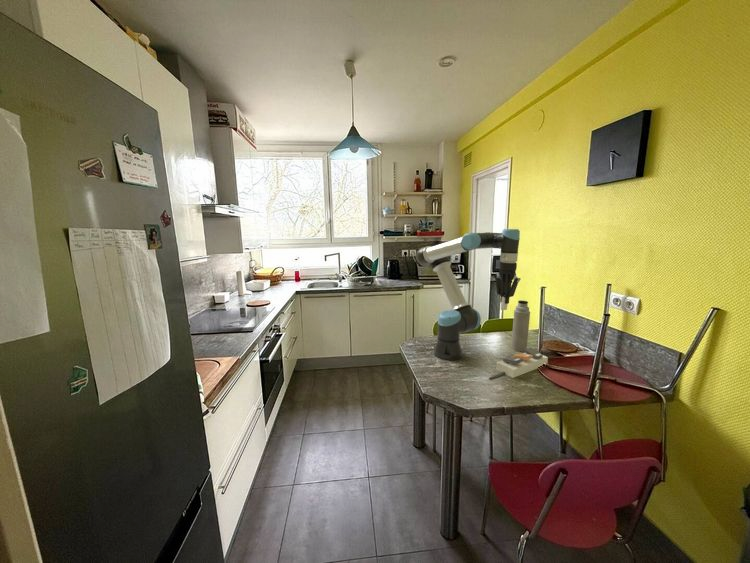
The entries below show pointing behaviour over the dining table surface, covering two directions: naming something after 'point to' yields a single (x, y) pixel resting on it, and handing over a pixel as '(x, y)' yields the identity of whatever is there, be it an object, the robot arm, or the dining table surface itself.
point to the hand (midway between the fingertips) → (503, 309)
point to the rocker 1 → (512, 360)
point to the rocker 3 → (533, 353)
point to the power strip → (519, 367)
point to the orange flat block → (523, 356)
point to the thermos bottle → (520, 326)
